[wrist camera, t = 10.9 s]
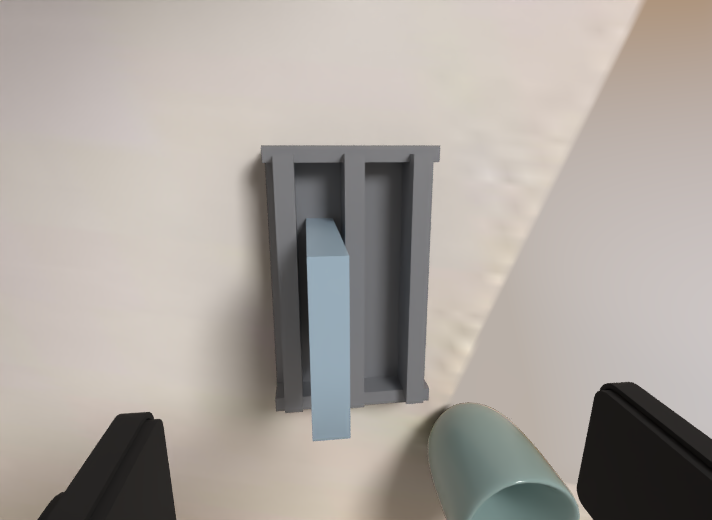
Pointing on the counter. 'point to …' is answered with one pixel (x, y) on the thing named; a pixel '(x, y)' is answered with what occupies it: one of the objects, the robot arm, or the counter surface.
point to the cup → (492, 469)
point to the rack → (354, 263)
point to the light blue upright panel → (328, 329)
